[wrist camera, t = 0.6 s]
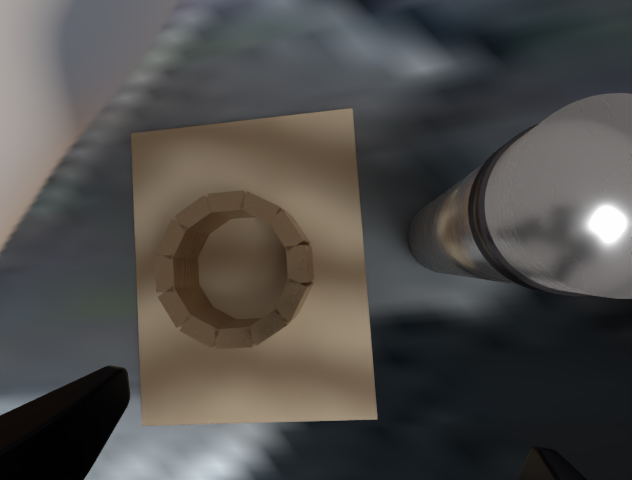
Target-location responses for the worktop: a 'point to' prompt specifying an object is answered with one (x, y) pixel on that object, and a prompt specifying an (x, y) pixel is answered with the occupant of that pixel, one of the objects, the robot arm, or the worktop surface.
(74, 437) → the robot arm
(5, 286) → the worktop surface
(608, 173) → the steel tube
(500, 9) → the worktop surface
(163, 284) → the wooden collar
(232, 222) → the oak base board
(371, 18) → the worktop surface
